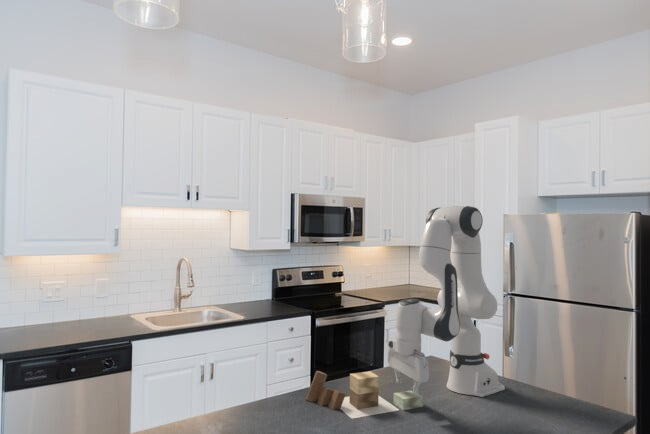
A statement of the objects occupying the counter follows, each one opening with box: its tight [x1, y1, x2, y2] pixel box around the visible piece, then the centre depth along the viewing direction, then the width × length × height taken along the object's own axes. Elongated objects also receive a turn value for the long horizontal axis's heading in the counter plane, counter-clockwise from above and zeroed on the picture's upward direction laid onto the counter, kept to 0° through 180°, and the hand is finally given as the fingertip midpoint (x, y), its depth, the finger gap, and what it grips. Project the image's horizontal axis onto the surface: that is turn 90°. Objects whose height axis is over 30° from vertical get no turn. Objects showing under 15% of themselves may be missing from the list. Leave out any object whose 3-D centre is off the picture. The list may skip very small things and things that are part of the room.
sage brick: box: [392, 390, 424, 411], centre depth 154 cm, size 8×6×5 cm
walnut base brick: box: [349, 388, 380, 410], centre depth 154 cm, size 8×6×5 cm
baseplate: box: [339, 395, 400, 420], centre depth 154 cm, size 18×17×1 cm
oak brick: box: [349, 370, 380, 394], centre depth 154 cm, size 8×6×5 cm
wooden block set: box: [305, 370, 346, 411], centre depth 158 cm, size 18×9×10 cm, turn 30°
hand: (406, 387), depth 153 cm, fingers open, 8 cm apart
